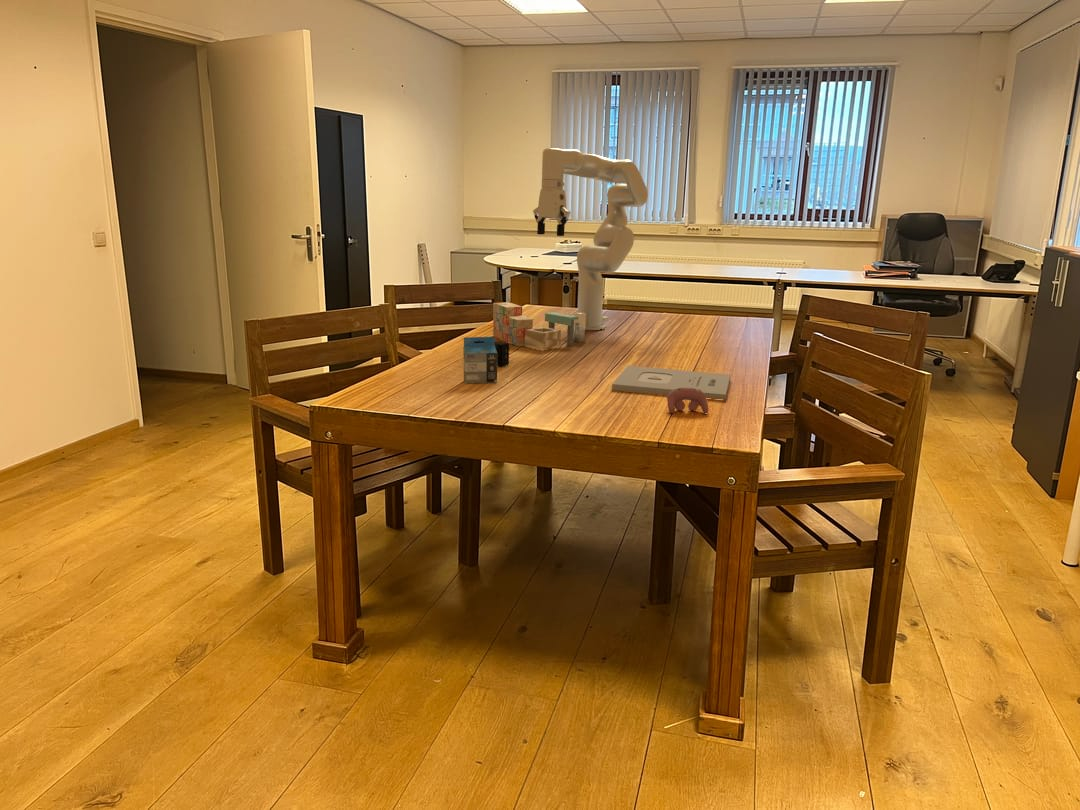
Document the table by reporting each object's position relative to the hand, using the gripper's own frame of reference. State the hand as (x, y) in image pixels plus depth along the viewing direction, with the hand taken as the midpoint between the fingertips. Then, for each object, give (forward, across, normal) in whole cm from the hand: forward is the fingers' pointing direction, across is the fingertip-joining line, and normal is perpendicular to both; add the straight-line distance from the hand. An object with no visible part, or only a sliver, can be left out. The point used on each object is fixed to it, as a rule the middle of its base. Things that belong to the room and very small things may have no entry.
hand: (550, 235), depth 278 cm
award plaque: (+37, -76, +27) cm, 88 cm away
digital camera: (+37, -24, +49) cm, 66 cm away
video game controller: (+37, -94, +46) cm, 111 cm away
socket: (+36, -16, +18) cm, 43 cm away
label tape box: (+37, -39, +66) cm, 85 cm away
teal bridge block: (+36, -14, +8) cm, 39 cm away
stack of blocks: (+37, 0, +17) cm, 41 cm away
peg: (+36, -15, -1) cm, 39 cm away
